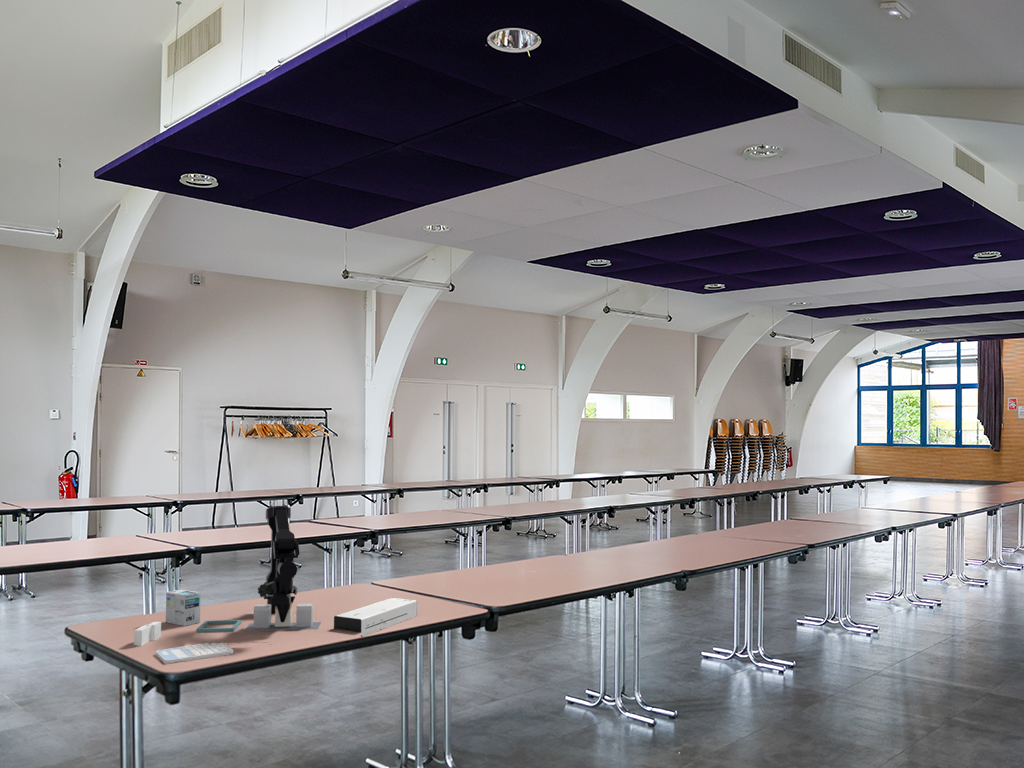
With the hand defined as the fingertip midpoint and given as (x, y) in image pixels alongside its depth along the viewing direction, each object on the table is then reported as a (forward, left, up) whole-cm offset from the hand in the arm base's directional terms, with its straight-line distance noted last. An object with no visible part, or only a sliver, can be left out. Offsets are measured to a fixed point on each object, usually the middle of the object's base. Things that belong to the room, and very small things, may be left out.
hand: (283, 620), depth 281 cm
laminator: (-7, +31, -4) cm, 32 cm away
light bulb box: (-15, -37, -4) cm, 40 cm away
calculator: (+27, -22, -4) cm, 35 cm away
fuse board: (0, 0, -3) cm, 3 cm away
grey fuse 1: (0, -7, -2) cm, 7 cm away
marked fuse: (0, 0, -2) cm, 2 cm away
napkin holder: (+10, -40, -4) cm, 42 cm away
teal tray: (0, -21, -3) cm, 21 cm away
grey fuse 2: (0, +7, -2) cm, 7 cm away
